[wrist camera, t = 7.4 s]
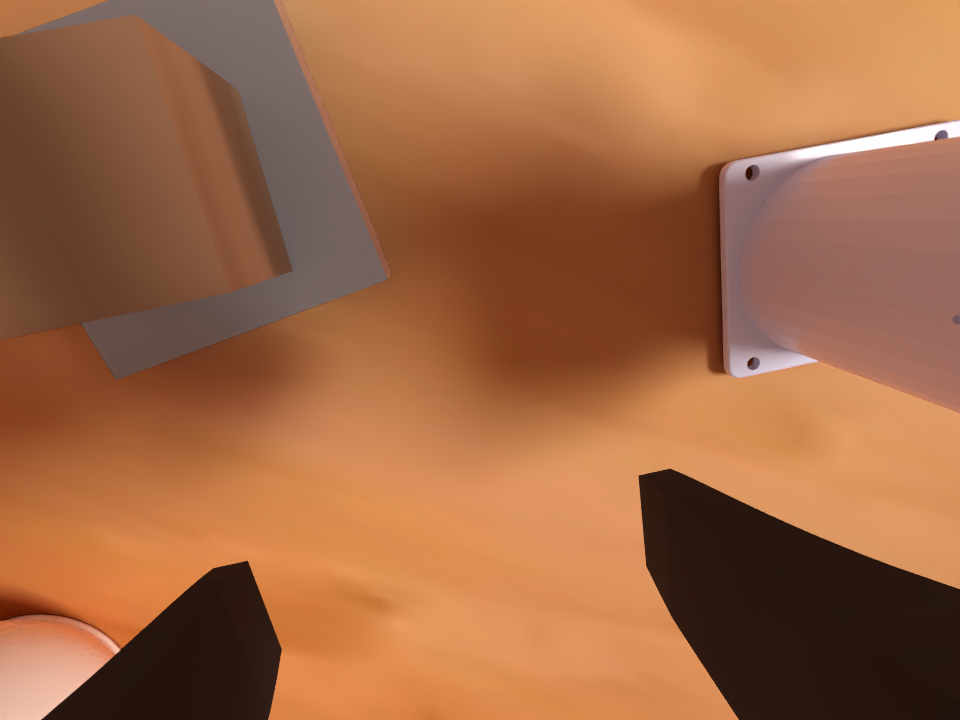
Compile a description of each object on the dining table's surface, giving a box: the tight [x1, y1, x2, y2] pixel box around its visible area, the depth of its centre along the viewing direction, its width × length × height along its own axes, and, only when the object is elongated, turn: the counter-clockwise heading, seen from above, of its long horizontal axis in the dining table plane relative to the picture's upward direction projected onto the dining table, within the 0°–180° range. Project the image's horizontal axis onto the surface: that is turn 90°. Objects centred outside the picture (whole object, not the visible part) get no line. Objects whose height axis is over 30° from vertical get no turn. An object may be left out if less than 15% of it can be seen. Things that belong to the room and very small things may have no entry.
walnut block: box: [0, 14, 293, 340], centre depth 12 cm, size 5×5×5 cm
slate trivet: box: [13, 0, 392, 380], centre depth 15 cm, size 9×9×2 cm
